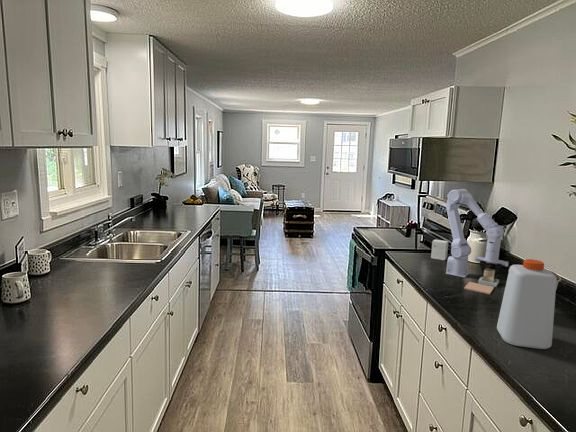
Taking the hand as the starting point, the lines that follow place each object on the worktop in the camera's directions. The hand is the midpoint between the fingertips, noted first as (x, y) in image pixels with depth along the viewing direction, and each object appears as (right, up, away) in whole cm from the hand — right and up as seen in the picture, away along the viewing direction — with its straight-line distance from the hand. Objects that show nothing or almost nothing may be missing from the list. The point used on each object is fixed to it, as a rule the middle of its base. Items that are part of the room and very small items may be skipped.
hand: (489, 277), depth 203 cm
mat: (-9, -4, -8) cm, 12 cm away
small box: (-9, +5, +42) cm, 43 cm away
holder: (0, -3, +1) cm, 3 cm away
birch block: (0, -2, 0) cm, 2 cm away
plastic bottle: (-16, -13, -58) cm, 62 cm away
